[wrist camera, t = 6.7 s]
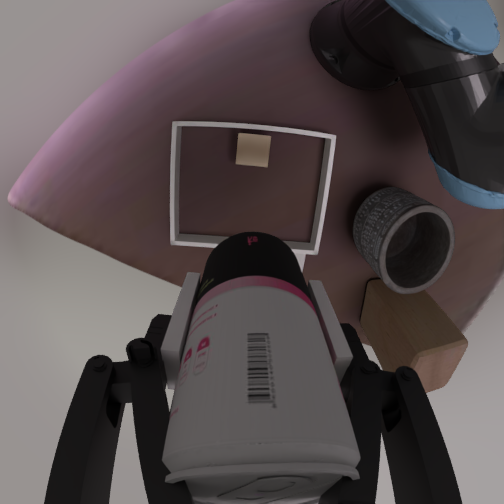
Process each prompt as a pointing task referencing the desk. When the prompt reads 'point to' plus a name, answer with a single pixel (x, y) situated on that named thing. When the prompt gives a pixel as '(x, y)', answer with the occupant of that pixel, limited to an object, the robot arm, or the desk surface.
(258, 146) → the beech block
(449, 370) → the wooden block
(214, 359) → the beverage can
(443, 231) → the planter
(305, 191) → the desk surface
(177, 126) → the bin
